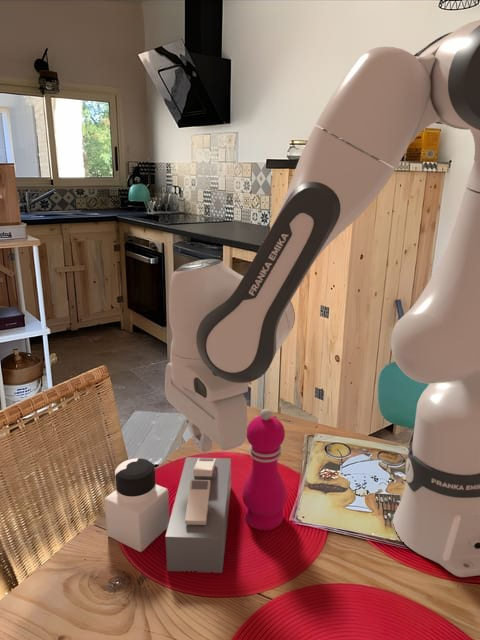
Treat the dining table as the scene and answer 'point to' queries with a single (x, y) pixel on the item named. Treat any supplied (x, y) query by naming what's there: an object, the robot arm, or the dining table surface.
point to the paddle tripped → (204, 467)
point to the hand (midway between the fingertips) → (202, 447)
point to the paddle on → (197, 502)
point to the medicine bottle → (136, 505)
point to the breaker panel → (200, 540)
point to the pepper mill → (264, 473)
